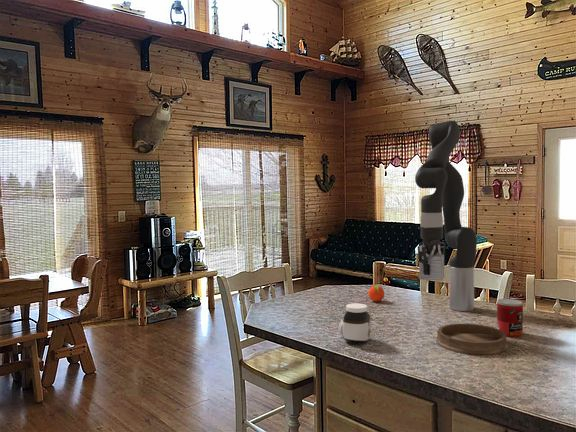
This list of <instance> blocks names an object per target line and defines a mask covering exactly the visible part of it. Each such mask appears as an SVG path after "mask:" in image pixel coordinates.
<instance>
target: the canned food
mask: <svg viewBox="0 0 576 432" xmlns="http://www.w3.org/2000/svg"><path fill="white" fill-rule="evenodd" d="M496 303H497V304H496V305H497V306H496V324H497V326H496V329H499V330H501V331H503V332H504V333H505V334H506V338H520V337H522V336H523V334H524V333H523V332H524V330H523V329H524V328H523V325H524V321H523V320H524V318H523V317H524V312H523V311H524V303H523V301H521V300H518V299H513V298H500V299H497V300H496Z"/></svg>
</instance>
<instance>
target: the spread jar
mask: <svg viewBox="0 0 576 432" xmlns="http://www.w3.org/2000/svg"><path fill="white" fill-rule="evenodd" d="M345 310H346V311H345V313H344V315H343V318H342V319H341V320H340V322H339V323H338V326H337V330H338V332H339V333H340V334H341V335H342V337H343V340H344V341H345V342H347V343H348V344H350V345H364V344H365V345H366V343H369V341H370V338H371V334H372V333H371V332H372V324H371V323H372V321H371V319H372V318H371V314H370V313H369V312H368V304H365V303H348V304H346V305H345Z"/></svg>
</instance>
